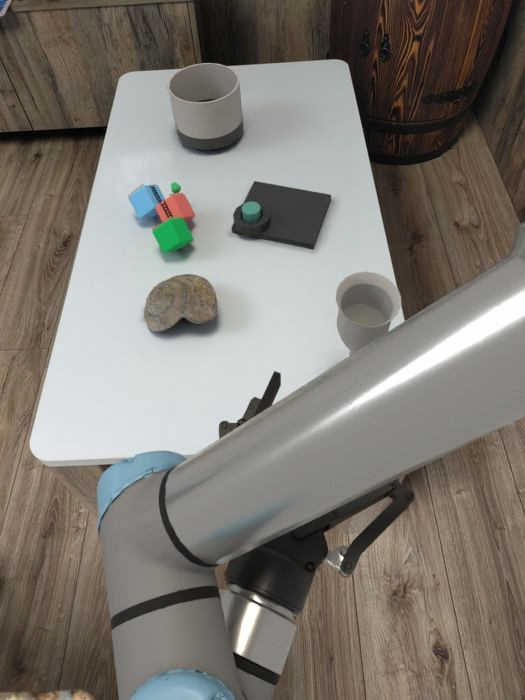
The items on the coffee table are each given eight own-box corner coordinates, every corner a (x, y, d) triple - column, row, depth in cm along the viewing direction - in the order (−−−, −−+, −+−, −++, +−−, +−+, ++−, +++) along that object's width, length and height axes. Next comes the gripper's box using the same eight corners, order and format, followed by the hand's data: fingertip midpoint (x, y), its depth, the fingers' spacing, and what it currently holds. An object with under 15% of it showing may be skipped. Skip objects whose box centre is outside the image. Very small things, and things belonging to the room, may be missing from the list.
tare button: (263, 211, 82) (262, 203, 80) (257, 224, 80) (257, 215, 79) (246, 208, 83) (245, 199, 81) (240, 220, 81) (239, 212, 80)
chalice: (323, 358, 69) (333, 272, 54) (372, 357, 69) (396, 270, 54) (326, 405, 66) (338, 327, 50) (378, 405, 65) (406, 326, 50)
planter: (215, 107, 103) (208, 55, 94) (257, 134, 97) (254, 81, 88) (165, 135, 98) (153, 83, 90) (206, 165, 93) (197, 112, 84)
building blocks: (174, 257, 87) (141, 194, 86) (208, 236, 83) (174, 169, 82) (146, 265, 80) (110, 197, 79) (182, 242, 76) (144, 169, 75)
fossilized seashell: (174, 266, 77) (173, 248, 71) (230, 305, 77) (234, 291, 71) (132, 320, 75) (126, 306, 68) (190, 360, 75) (190, 351, 68)
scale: (331, 200, 86) (332, 186, 84) (311, 253, 80) (312, 240, 78) (254, 186, 89) (253, 172, 87) (229, 236, 83) (228, 223, 80)
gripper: (146, 551, 50) (234, 378, 60) (391, 666, 44) (443, 452, 54) (125, 534, 43) (228, 344, 54) (409, 666, 37) (464, 423, 48)
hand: (336, 398), depth 54 cm, fingers open, 13 cm apart
